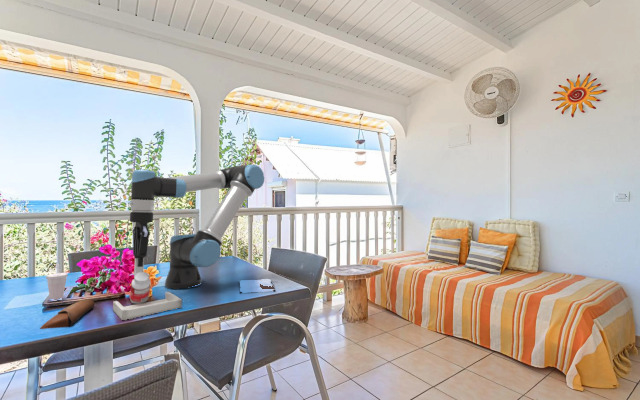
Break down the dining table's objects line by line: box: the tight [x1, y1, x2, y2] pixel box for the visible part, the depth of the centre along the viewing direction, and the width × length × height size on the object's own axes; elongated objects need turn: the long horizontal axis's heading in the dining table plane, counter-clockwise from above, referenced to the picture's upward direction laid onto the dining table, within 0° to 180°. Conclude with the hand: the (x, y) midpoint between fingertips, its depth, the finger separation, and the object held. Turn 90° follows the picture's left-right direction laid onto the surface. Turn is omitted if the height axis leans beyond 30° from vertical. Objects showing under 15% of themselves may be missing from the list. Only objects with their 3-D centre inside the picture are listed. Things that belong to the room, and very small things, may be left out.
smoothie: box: [45, 262, 69, 300], centre depth 120 cm, size 6×6×14 cm
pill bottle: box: [129, 271, 151, 305], centre depth 117 cm, size 6×6×11 cm
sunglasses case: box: [39, 298, 95, 330], centre depth 103 cm, size 18×7×7 cm
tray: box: [112, 291, 183, 321], centre depth 112 cm, size 18×13×3 cm
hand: (138, 275), depth 117 cm, fingers closed
